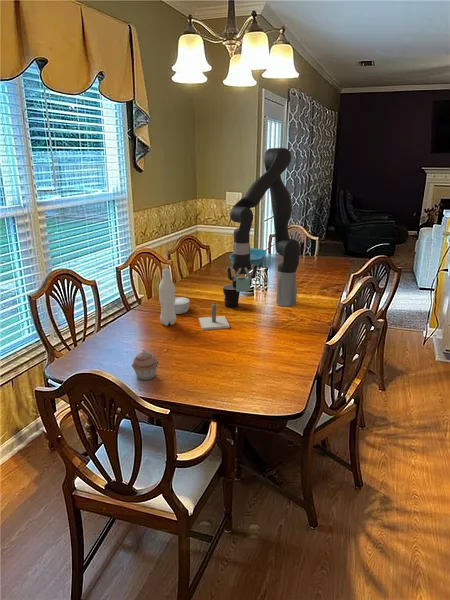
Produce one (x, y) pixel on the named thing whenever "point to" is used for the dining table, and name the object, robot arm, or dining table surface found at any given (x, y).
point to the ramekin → (181, 305)
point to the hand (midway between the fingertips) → (241, 287)
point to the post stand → (213, 321)
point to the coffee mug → (230, 296)
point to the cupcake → (145, 365)
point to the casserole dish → (254, 256)
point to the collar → (242, 284)
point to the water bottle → (167, 299)
